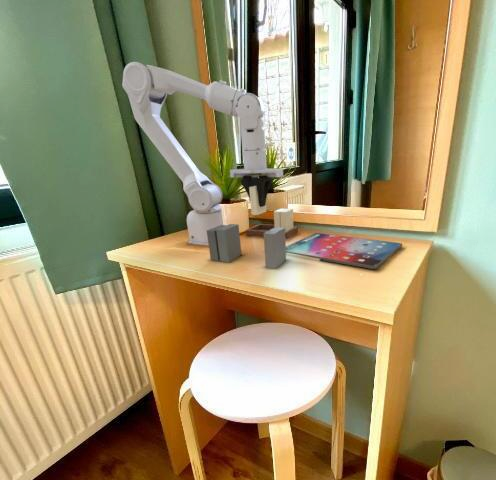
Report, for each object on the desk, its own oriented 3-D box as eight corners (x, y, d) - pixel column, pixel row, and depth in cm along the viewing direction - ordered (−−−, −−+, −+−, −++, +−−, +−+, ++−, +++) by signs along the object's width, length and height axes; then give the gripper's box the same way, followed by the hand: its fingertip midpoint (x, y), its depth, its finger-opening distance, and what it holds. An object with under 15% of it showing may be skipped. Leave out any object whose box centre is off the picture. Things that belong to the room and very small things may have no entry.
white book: (251, 214, 79) (249, 187, 77) (260, 211, 83) (258, 184, 81) (257, 215, 79) (255, 187, 76) (266, 211, 83) (264, 184, 80)
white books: (274, 235, 87) (273, 211, 85) (282, 231, 92) (281, 208, 89) (286, 236, 86) (285, 212, 83) (293, 232, 90) (293, 208, 87)
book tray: (246, 237, 90) (245, 230, 89) (259, 230, 96) (259, 223, 96) (286, 240, 85) (286, 233, 84) (298, 233, 91) (297, 226, 91)
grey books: (210, 260, 71) (206, 228, 68) (224, 253, 76) (220, 223, 73) (275, 268, 65) (273, 234, 62) (286, 260, 69) (285, 227, 66)
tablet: (316, 234, 89) (316, 232, 89) (403, 246, 75) (403, 243, 75) (277, 252, 75) (277, 249, 74) (376, 271, 61) (376, 267, 61)
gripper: (220, 151, 74) (227, 207, 80) (272, 149, 69) (275, 209, 74) (236, 151, 80) (241, 203, 86) (285, 148, 75) (288, 204, 80)
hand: (258, 206), depth 80 cm, fingers closed on white book, 2 cm apart
